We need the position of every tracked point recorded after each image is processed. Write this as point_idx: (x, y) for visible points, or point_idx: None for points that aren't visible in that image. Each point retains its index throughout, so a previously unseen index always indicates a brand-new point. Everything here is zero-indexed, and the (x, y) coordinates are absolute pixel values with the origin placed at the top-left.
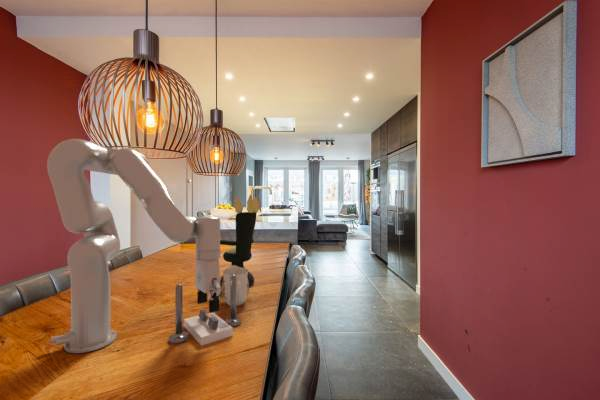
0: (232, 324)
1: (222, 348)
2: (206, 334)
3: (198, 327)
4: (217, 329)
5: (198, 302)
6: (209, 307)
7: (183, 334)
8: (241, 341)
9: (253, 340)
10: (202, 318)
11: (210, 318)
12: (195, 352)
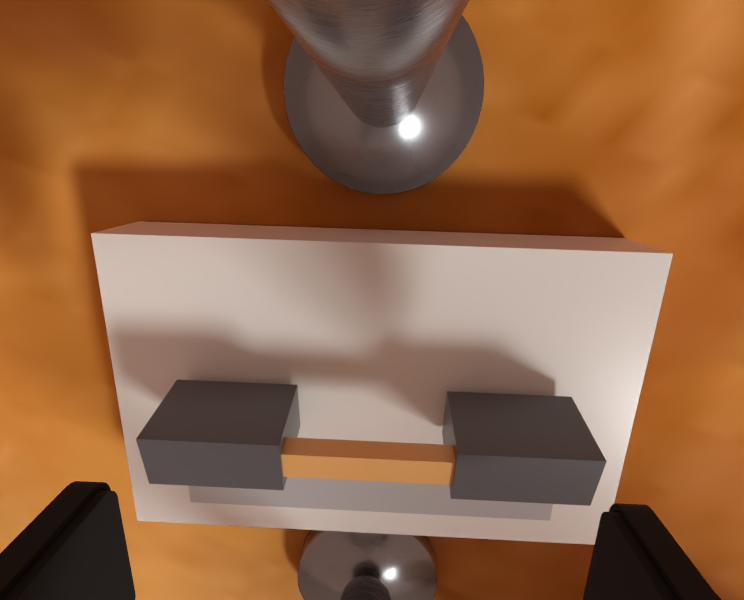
0: (306, 548)
1: (16, 334)
2: (127, 296)
3: (336, 297)
4: None
5: (617, 520)
6: (6, 551)
7: (391, 146)
8: (54, 475)
9: None
10: (464, 401)
11: (237, 443)
12: (53, 137)
